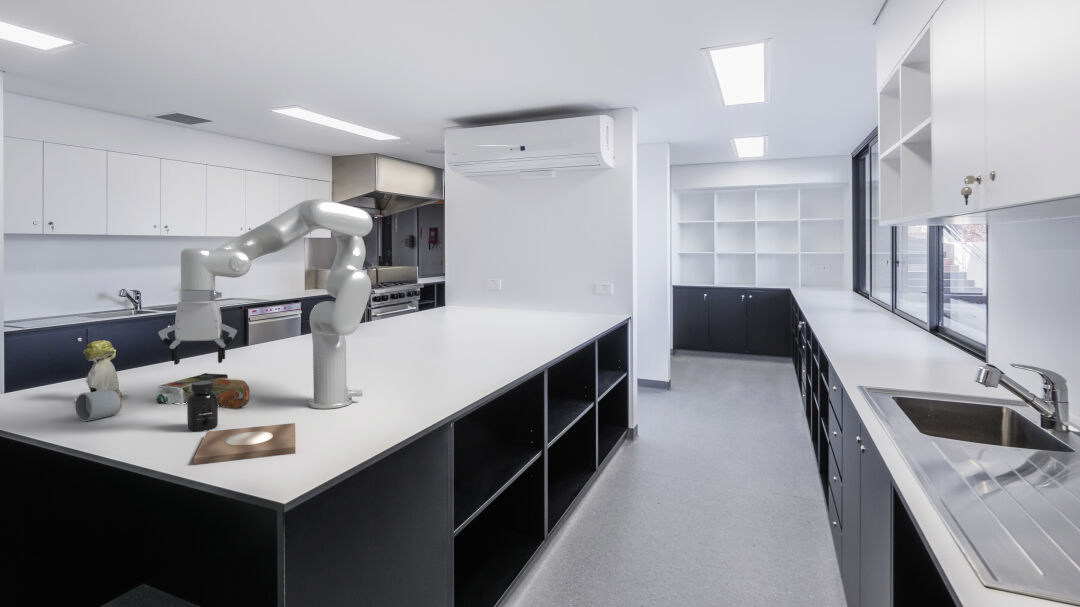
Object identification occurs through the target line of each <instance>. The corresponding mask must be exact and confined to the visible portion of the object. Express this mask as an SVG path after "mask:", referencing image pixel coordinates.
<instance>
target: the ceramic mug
mask: <svg viewBox="0 0 1080 607" xmlns="http://www.w3.org/2000/svg"><path fill="white" fill-rule="evenodd" d="M75 399H76V402H75V401H74V403H75V404H74V407H75V408H74V409H75V413H76V416H77V417H78V419H79V420H80V421H82V422H90V421H94V420H99V419H103V417H104V418H108V417H111V416H114V415H117V414H118V413H119V412H120V411H121V408H122V403H123V401H122V398H121V396H120V395H119V394H118V393H117V392H116V391H113V390H105V391H97V392H90V391H88V392H81V393H80V394H79V395H78V396H77V397H76V398H75Z"/></svg>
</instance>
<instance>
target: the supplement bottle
mask: <svg viewBox="0 0 1080 607" xmlns="http://www.w3.org/2000/svg"><path fill="white" fill-rule="evenodd" d="M212 390H213V382H210V381H202V382H195V383H192V389H191V391H193V393H191V394H190V395H189V396H188V397H187V403H186V407H187V408H186V409H187V411H186V414H187V419H186V420H187V424H186V425H187V430H188V431H190V430H191V432H205V431H204V430H207V431H211V430H214V429H216V428H218V425H219V418H218V417H219V414H218V413H219V409H218V408H219V406H218V396H217V394H216V393H215V392H213V391H212ZM213 428H214V429H213ZM210 429H211V430H210Z"/></svg>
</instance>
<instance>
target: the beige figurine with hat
mask: <svg viewBox="0 0 1080 607" xmlns="http://www.w3.org/2000/svg"><path fill="white" fill-rule="evenodd" d="M82 353H83V355H84V356H85V360H86V361H88V362H89V361H93V364H92V365H90V367H91V368H90V370H89V372H88V373H87V374H86V380H85V383H87V386H88V389H89V392H97V391H105V390H113V391H116V392H117V393H118V394H119V395H124V396H126V395H127V392H128V391H126V390H123V391H121V389H119V388H120V385H119V377H118V373H117V370H116V368H115V365H114V364H113V362H112V360H113V359H115V358H116V355H117V354H116V353H117V350H116V349H115V347H114V346H113V343H112V341H108V340H104V339H103V340H101V339H100V340H94V341H91V342H89V343H88V344H86V346H85V349H84V350H83V351H82ZM76 399H77V398H73V401H74V403H75V402H76Z"/></svg>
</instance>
